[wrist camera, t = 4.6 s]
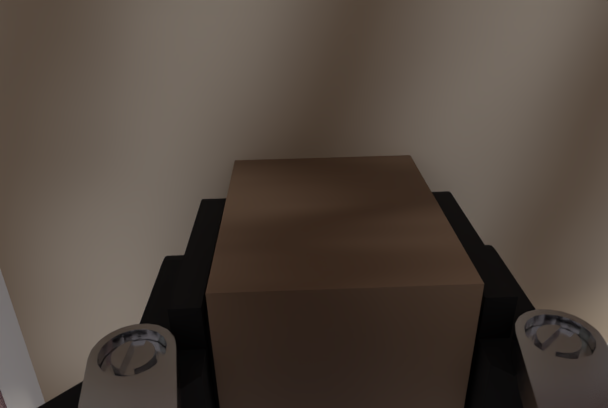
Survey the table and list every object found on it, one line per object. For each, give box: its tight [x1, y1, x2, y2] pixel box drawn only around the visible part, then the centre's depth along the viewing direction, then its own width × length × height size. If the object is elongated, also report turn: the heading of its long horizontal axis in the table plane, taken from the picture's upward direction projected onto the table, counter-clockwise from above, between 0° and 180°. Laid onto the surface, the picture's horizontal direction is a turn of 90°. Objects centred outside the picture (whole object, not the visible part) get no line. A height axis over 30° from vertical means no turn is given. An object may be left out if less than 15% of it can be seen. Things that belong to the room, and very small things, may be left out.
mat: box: [0, 269, 608, 408], centre depth 14 cm, size 20×20×1 cm
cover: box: [0, 0, 608, 408], centre depth 11 cm, size 16×16×6 cm
